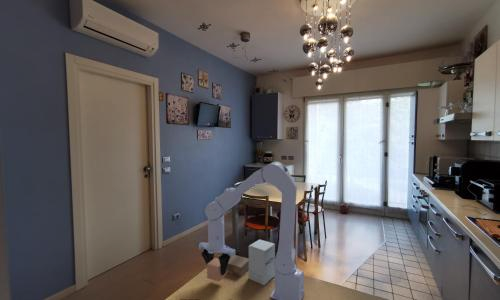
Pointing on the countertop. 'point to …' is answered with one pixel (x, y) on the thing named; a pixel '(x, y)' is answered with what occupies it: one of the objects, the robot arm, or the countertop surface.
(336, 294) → the countertop surface
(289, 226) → the robot arm
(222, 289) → the countertop surface
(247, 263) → the walnut slab
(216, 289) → the countertop surface
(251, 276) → the supplement box
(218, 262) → the terracotta cube
